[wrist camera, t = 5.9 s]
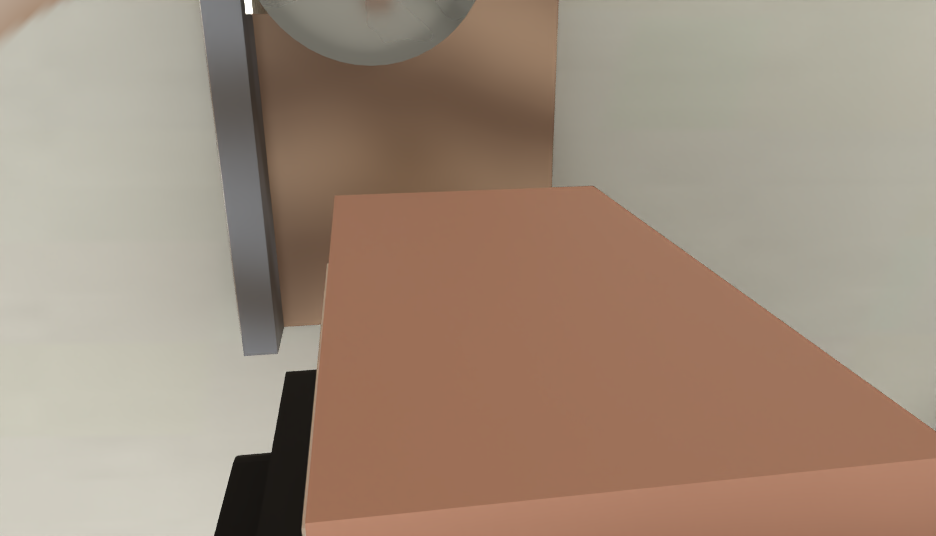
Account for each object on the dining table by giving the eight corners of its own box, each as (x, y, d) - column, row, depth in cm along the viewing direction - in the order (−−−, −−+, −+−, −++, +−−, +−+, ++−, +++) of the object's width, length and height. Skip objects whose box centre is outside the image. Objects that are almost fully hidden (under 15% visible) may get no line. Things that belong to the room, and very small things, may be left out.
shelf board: (540, 299, 31) (562, 334, 27) (254, 316, 29) (241, 356, 26) (554, -145, 25) (585, -170, 21) (199, -155, 23) (173, -184, 20)
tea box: (574, 483, 16) (813, 987, 8) (349, 505, 15) (346, 1091, 7) (593, 186, 14) (967, 454, 5) (327, 195, 13) (285, 525, 5)
